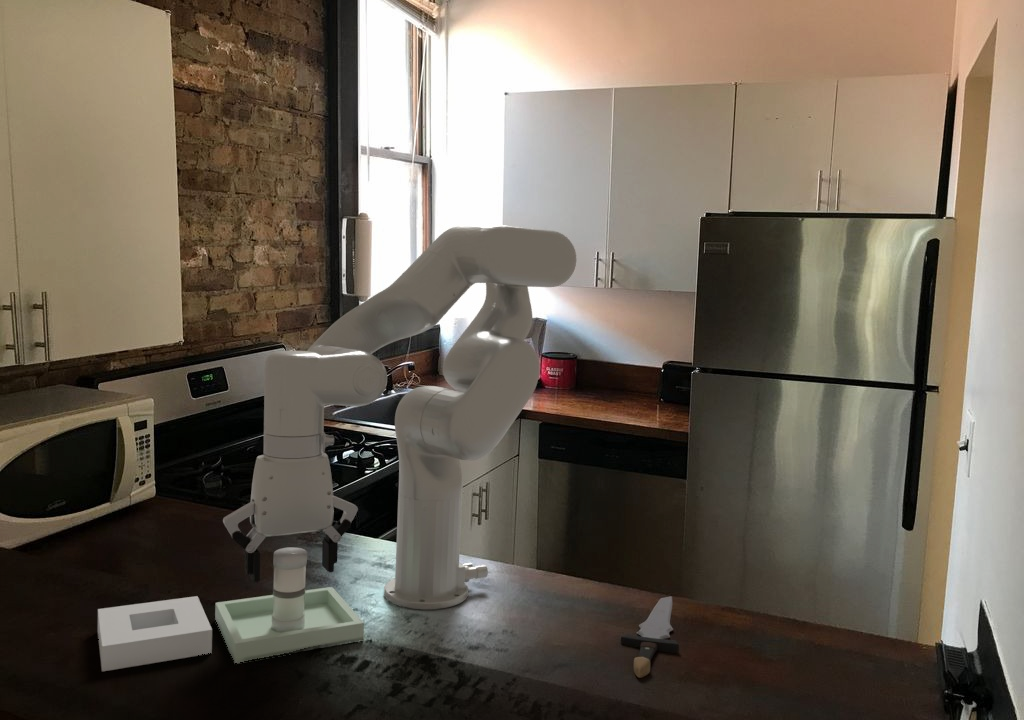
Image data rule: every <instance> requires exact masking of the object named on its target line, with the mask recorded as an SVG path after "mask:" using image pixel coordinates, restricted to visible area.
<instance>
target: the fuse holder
mask: <svg viewBox="0 0 1024 720" xmlns="http://www.w3.org/2000/svg"><path fill="white" fill-rule="evenodd" d="M97 639H99V640H98V646H99V647H98V649H99V657H100V667H101V672H106V671H108V672H109V671H114V670H119V669H125V668H131V667H132V668H133V667H139V666H143V665H150V664H155V663H161V662H167V661H173V660H179V659H186V658H191V657H192V658H193V657H198V655H199V656H203V655H204V654H205V655H209V654H210V653H211V654H213V653H212V651H213V628H212V626H211V623H210V622H209V619H208V617H207V615H206V613H205V610H204V608H203V605H202V603H201V601H200V598H199V597H198V595H196V596H189V597H188V596H187V597H182V598H172V599H166V600H165V599H163V600H157V601H150V602H142V603H134V604H126V605H120V606H111V607H104V608H97ZM208 653H209V654H208ZM202 654H203V655H202ZM205 655H204V656H205Z"/></svg>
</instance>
